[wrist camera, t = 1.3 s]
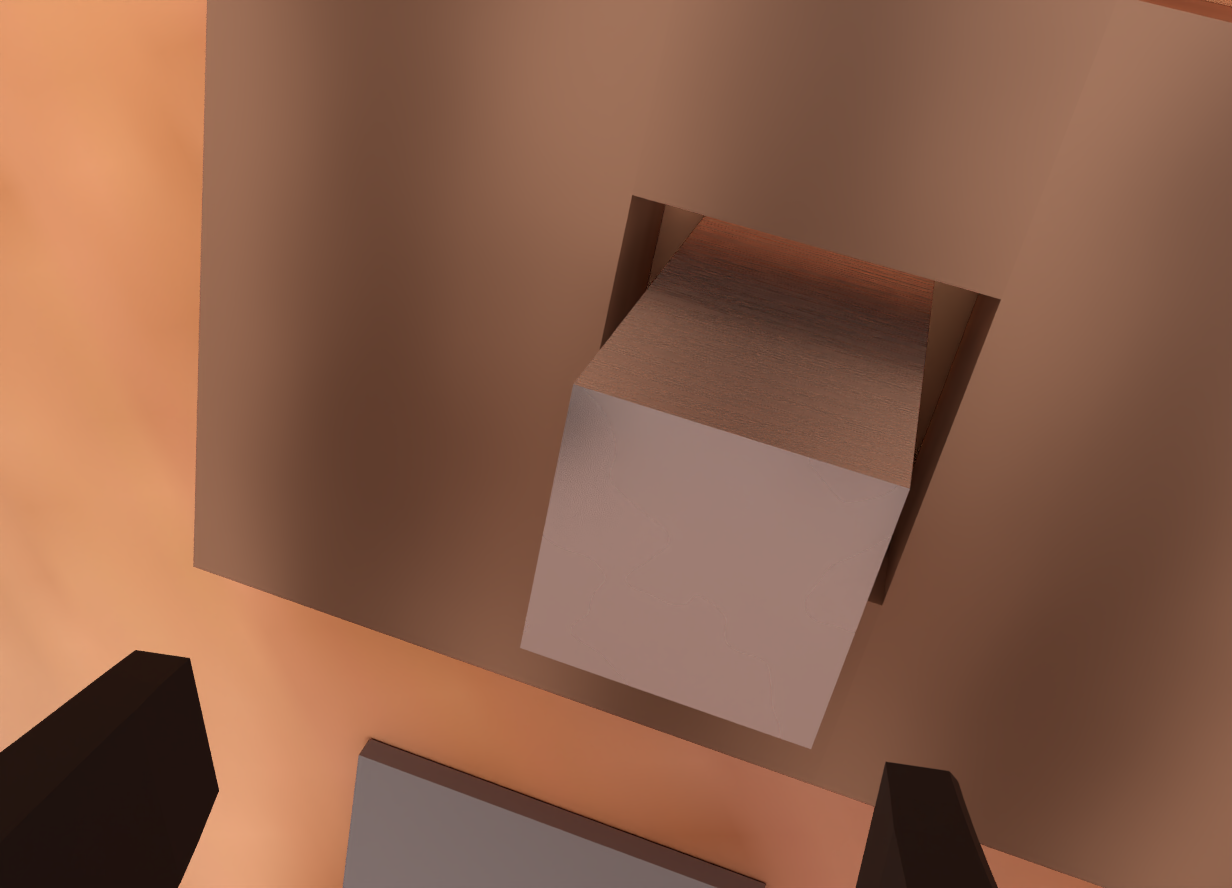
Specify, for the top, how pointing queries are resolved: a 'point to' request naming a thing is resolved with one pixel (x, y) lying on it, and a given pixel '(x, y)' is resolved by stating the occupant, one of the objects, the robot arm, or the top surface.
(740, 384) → the steel peg
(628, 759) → the top surface
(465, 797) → the rubber mat
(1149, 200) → the walnut board
